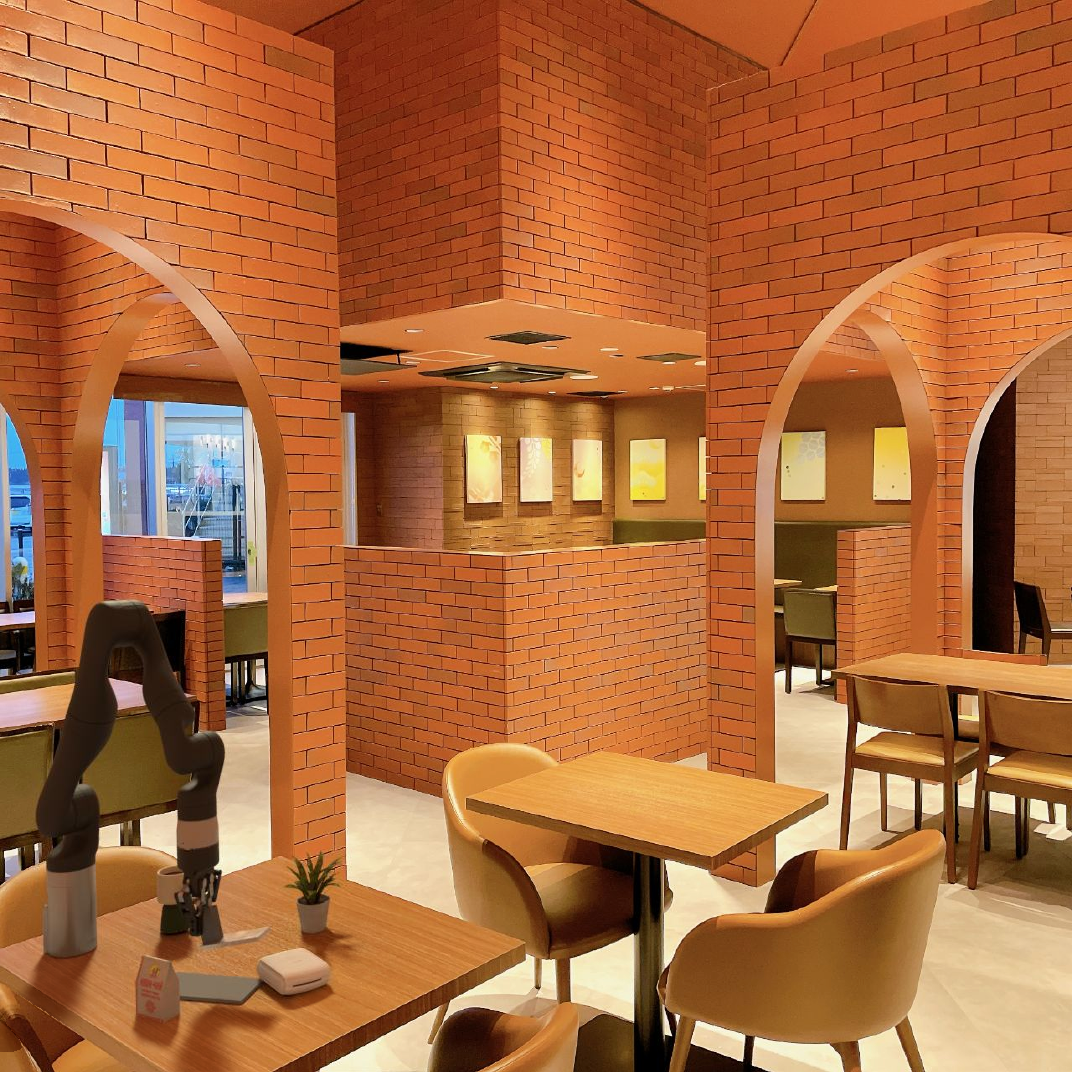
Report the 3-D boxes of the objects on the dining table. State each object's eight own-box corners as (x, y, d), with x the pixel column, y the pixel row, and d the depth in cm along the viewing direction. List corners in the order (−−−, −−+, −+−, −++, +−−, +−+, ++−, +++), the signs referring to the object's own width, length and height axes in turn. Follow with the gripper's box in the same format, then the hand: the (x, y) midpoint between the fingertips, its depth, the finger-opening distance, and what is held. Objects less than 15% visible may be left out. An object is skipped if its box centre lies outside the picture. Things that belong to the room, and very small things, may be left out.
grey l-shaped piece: (199, 951, 186) (192, 914, 186) (213, 940, 191) (205, 904, 191) (258, 941, 184) (250, 904, 184) (271, 930, 189) (263, 894, 189)
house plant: (351, 939, 210) (350, 861, 210) (283, 947, 206) (281, 868, 206) (347, 914, 224) (346, 840, 223) (283, 921, 220) (281, 846, 220)
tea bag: (152, 1005, 182) (151, 950, 182) (179, 1013, 179) (178, 957, 179) (135, 1014, 179) (134, 958, 179) (163, 1022, 176) (162, 965, 176)
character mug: (203, 932, 215) (202, 871, 215) (171, 942, 210) (170, 880, 209) (179, 919, 222) (178, 860, 222) (148, 928, 217) (146, 868, 217)
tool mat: (150, 996, 186) (150, 993, 186) (177, 974, 195) (177, 971, 195) (241, 1004, 182) (241, 1000, 182) (263, 981, 191) (263, 978, 191)
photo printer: (305, 944, 198) (336, 964, 189) (304, 966, 198) (335, 987, 188) (255, 956, 192) (284, 977, 182) (255, 979, 191) (284, 1002, 182)
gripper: (198, 828, 196) (200, 917, 196) (158, 851, 182) (161, 946, 182) (234, 830, 194) (236, 919, 195) (196, 853, 181) (199, 949, 181)
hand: (199, 932), depth 189 cm, fingers closed on grey l-shaped piece
